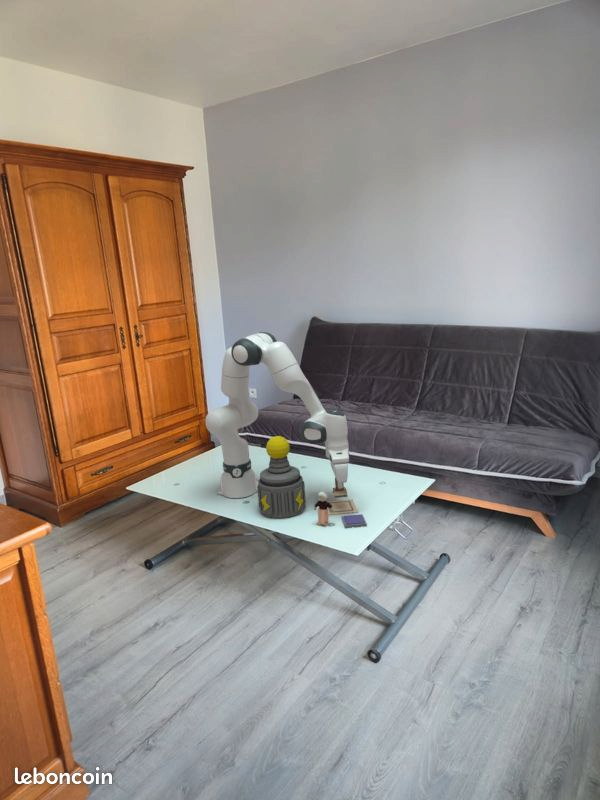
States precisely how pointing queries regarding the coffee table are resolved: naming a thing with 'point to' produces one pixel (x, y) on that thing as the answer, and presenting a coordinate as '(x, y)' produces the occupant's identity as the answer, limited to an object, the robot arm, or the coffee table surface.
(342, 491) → the stamp
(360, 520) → the ink pad
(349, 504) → the card sheet
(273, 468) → the grey toy tesla coil
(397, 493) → the coffee table surface
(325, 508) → the grandmother figurine
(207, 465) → the coffee table surface
